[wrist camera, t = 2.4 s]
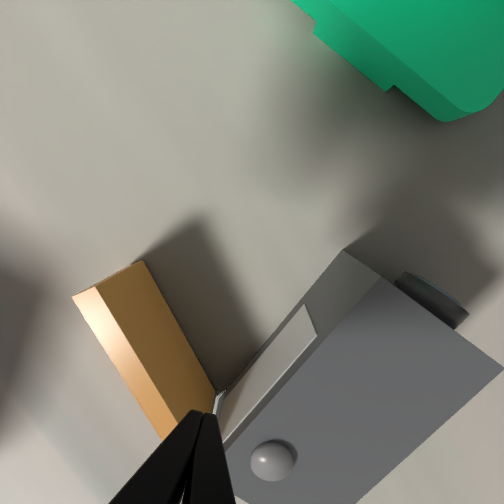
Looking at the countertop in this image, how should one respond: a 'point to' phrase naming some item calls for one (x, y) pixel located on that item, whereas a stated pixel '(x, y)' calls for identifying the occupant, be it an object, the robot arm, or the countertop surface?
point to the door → (147, 346)
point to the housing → (347, 387)
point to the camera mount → (420, 48)
